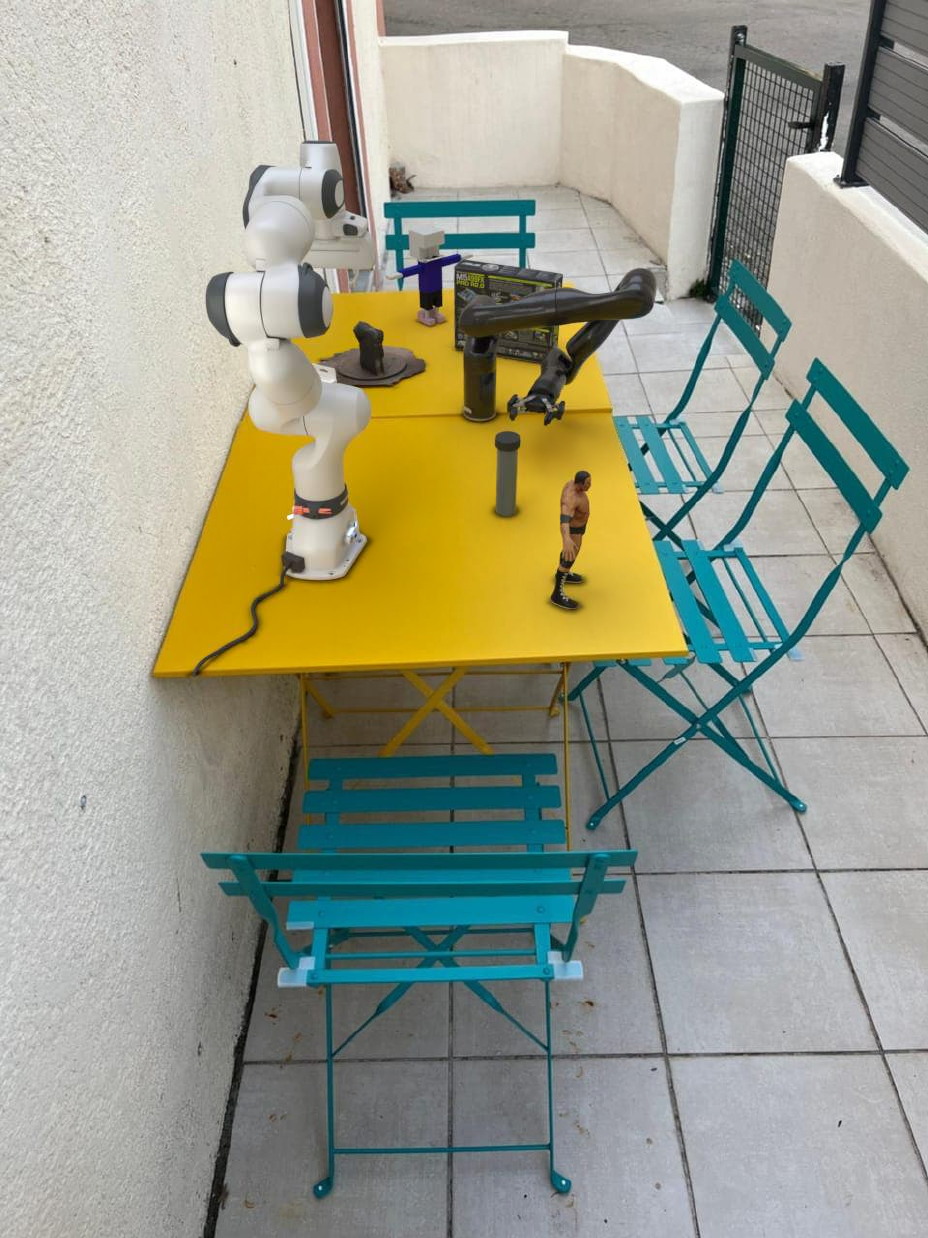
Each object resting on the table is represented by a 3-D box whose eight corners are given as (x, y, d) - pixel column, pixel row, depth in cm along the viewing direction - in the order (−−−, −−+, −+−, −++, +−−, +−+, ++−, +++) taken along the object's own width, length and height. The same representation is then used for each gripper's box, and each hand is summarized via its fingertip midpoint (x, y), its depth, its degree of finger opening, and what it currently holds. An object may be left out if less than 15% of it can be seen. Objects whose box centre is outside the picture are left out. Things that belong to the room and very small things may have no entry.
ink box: (306, 417, 253) (300, 368, 244) (316, 410, 257) (310, 362, 247) (331, 424, 250) (326, 375, 241) (341, 416, 254) (336, 368, 244)
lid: (521, 439, 207) (521, 431, 205) (519, 452, 202) (520, 443, 201) (495, 438, 207) (495, 430, 206) (493, 451, 203) (494, 442, 201)
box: (558, 356, 284) (564, 271, 267) (551, 365, 279) (556, 279, 262) (462, 341, 294) (461, 258, 277) (453, 349, 289) (452, 265, 271)
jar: (516, 505, 218) (519, 433, 205) (515, 516, 214) (517, 444, 201) (496, 504, 218) (497, 433, 206) (494, 515, 215) (496, 443, 202)
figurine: (575, 629, 182) (588, 506, 163) (545, 625, 183) (554, 502, 164) (587, 560, 200) (599, 442, 181) (559, 557, 201) (568, 439, 182)
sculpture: (406, 397, 263) (403, 345, 252) (297, 384, 270) (290, 333, 259) (437, 352, 287) (436, 303, 277) (336, 341, 294) (331, 293, 284)
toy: (460, 304, 319) (459, 216, 299) (477, 312, 313) (477, 222, 294) (381, 329, 302) (375, 237, 283) (398, 337, 296) (393, 244, 277)
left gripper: (275, 226, 189) (284, 291, 198) (369, 228, 187) (374, 293, 196) (282, 217, 194) (290, 281, 203) (374, 219, 192) (379, 283, 201)
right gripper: (519, 375, 231) (501, 402, 220) (572, 382, 228) (557, 409, 216) (518, 401, 236) (501, 429, 224) (570, 408, 233) (555, 437, 221)
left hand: (332, 287), depth 199 cm, fingers open, 8 cm apart
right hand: (528, 419), depth 220 cm, fingers open, 8 cm apart
